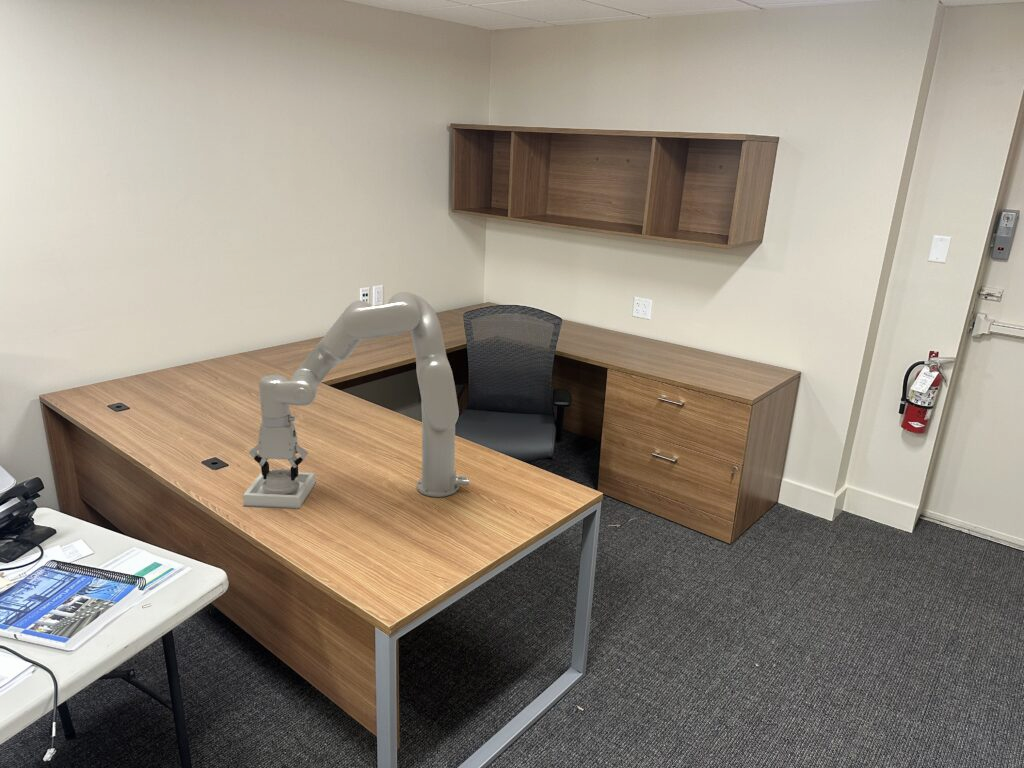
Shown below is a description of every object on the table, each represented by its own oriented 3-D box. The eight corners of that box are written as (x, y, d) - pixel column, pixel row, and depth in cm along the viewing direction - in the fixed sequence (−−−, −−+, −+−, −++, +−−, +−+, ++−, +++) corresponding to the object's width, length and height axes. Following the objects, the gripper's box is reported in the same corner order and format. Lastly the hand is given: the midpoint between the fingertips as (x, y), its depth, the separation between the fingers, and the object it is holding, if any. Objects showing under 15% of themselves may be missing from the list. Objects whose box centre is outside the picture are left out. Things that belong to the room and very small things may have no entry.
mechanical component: (306, 487, 205) (285, 476, 210) (305, 473, 203) (285, 462, 209) (275, 499, 197) (255, 487, 203) (274, 484, 196) (254, 473, 202)
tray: (315, 482, 212) (314, 473, 211) (299, 507, 197) (299, 497, 196) (263, 480, 212) (262, 470, 211) (244, 505, 197) (243, 494, 196)
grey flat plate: (316, 482, 213) (316, 481, 213) (299, 510, 197) (299, 509, 196) (264, 480, 213) (264, 479, 213) (242, 507, 197) (242, 506, 197)
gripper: (311, 416, 201) (314, 473, 207) (249, 413, 201) (254, 470, 207) (303, 426, 194) (307, 485, 199) (239, 423, 194) (244, 482, 200)
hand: (280, 477), depth 203 cm, fingers closed on mechanical component, 7 cm apart
